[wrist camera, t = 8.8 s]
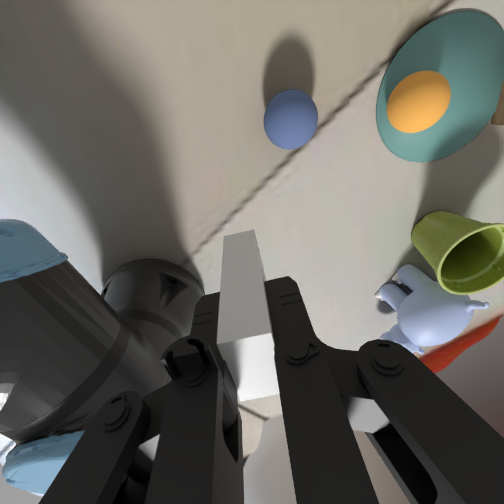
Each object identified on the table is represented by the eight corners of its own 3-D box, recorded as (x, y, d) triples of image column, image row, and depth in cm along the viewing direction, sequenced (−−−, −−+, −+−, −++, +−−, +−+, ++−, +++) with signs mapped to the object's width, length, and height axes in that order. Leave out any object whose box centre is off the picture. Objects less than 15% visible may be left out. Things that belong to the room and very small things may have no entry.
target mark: (372, 171, 33) (373, 171, 33) (380, 28, 26) (381, 28, 26) (488, 150, 32) (489, 150, 32) (528, -3, 25) (530, -4, 25)
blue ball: (325, 142, 25) (318, 139, 30) (315, 76, 23) (309, 85, 28) (269, 157, 26) (271, 153, 31) (255, 96, 24) (259, 102, 29)
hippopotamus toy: (351, 316, 45) (376, 365, 37) (415, 249, 39) (462, 289, 31) (397, 335, 48) (429, 384, 40) (463, 276, 42) (518, 319, 34)
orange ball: (454, 132, 25) (435, 124, 29) (467, 62, 22) (444, 65, 27) (389, 141, 27) (381, 132, 31) (394, 77, 24) (384, 77, 28)
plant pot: (399, 207, 35) (443, 236, 28) (472, 190, 35) (537, 215, 27) (397, 264, 40) (433, 301, 32) (461, 250, 39) (513, 285, 32)
